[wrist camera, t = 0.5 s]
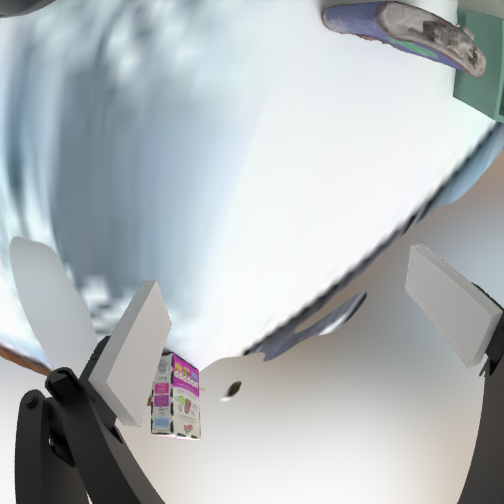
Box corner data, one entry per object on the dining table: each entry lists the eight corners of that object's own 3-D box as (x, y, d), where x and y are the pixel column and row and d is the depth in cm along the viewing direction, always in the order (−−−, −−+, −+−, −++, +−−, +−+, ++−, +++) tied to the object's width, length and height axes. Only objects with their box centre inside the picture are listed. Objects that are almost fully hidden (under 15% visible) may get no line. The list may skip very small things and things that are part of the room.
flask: (319, 29, 15) (398, 34, 7) (321, -2, 13) (403, -18, 5) (413, 57, 16) (504, 93, 8) (417, 30, 14) (511, 56, 6)
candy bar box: (152, 354, 48) (149, 433, 37) (173, 351, 48) (172, 434, 36) (180, 372, 56) (181, 440, 45) (199, 370, 55) (202, 440, 44)
